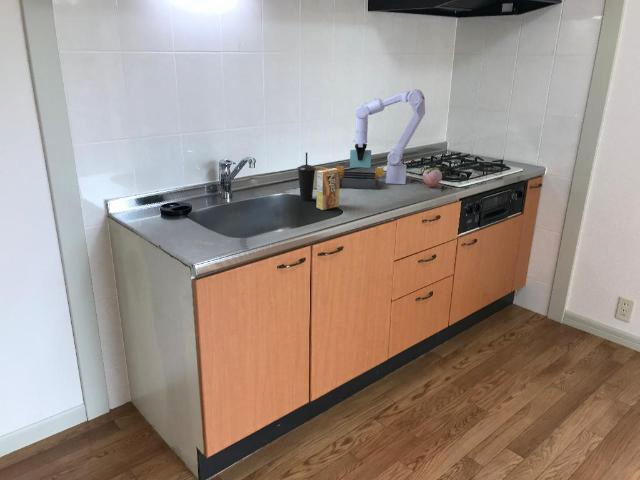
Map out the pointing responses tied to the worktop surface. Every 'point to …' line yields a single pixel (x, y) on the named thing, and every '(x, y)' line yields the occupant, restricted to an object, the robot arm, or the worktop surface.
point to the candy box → (328, 188)
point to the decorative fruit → (432, 176)
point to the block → (360, 163)
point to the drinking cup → (306, 181)
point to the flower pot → (316, 176)
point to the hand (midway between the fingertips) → (360, 159)
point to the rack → (359, 179)
